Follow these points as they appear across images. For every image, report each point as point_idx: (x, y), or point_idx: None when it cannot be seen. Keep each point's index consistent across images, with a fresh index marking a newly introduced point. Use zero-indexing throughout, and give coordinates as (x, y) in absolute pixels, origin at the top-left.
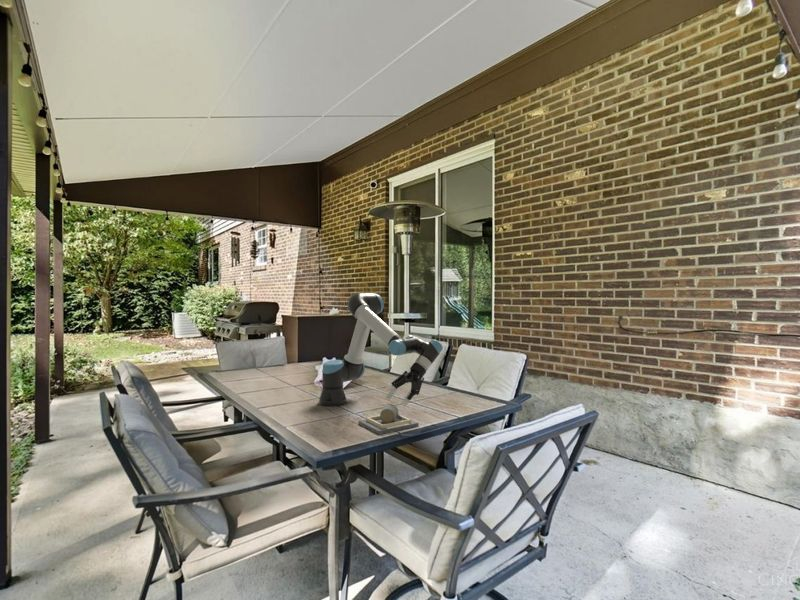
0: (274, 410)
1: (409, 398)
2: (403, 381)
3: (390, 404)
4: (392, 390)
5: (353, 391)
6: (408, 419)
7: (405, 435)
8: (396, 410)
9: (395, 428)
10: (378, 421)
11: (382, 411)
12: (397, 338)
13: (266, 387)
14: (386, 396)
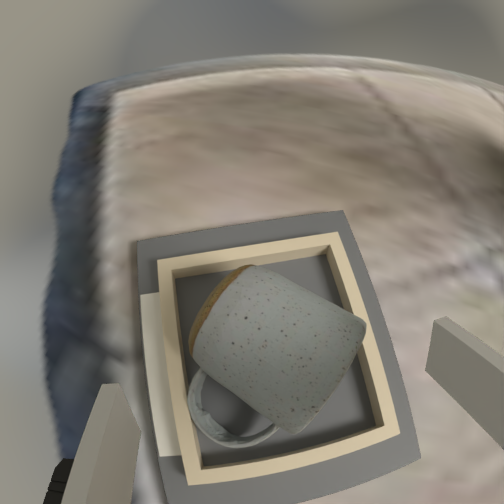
0: (477, 98)
1: (64, 475)
2: None
3: (323, 356)
4: (497, 391)
5: None
6: (198, 472)
7: (67, 360)
8: (258, 402)
9: (143, 346)
10: None
11: (242, 266)
12: None
13: None
14: (438, 326)
